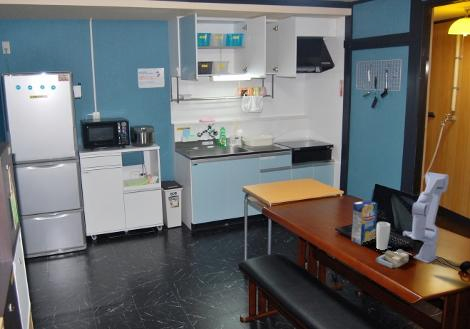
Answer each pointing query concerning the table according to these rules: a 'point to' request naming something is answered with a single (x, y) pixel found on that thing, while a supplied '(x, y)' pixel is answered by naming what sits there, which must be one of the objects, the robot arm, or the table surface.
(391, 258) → the t block
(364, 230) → the beverage box
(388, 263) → the bracket
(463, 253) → the table surface
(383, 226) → the drinking glass
